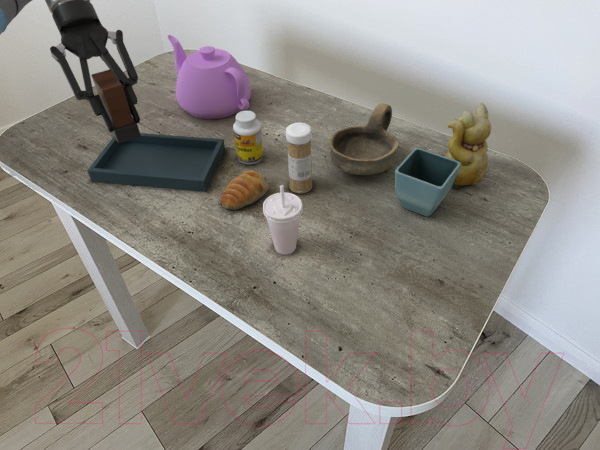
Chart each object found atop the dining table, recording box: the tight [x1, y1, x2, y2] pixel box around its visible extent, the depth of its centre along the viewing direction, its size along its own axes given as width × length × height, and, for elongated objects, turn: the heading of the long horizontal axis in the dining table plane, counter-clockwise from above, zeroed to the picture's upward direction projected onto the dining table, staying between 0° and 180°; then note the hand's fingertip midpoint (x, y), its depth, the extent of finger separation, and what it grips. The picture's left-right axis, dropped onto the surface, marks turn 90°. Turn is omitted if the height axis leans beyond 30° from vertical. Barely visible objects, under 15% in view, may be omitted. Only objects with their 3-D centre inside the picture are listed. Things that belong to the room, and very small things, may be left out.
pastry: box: [220, 169, 269, 211], centre depth 91 cm, size 9×7×4 cm
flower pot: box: [394, 147, 461, 218], centre depth 87 cm, size 9×9×9 cm
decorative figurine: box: [444, 102, 492, 189], centre depth 90 cm, size 10×8×15 cm
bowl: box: [328, 102, 400, 176], centre depth 96 cm, size 14×18×10 cm
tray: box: [87, 132, 226, 193], centre depth 99 cm, size 24×14×3 cm, turn 81°
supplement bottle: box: [232, 110, 264, 165], centre depth 98 cm, size 6×6×10 cm
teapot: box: [167, 34, 252, 120], centre depth 113 cm, size 25×18×14 cm
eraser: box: [90, 68, 141, 144], centre depth 92 cm, size 8×4×11 cm, turn 33°
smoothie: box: [262, 184, 304, 256], centre depth 78 cm, size 6×6×14 cm
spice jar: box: [285, 122, 313, 195], centre depth 89 cm, size 5×5×13 cm
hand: (124, 125), depth 91 cm, fingers closed on eraser, 4 cm apart
